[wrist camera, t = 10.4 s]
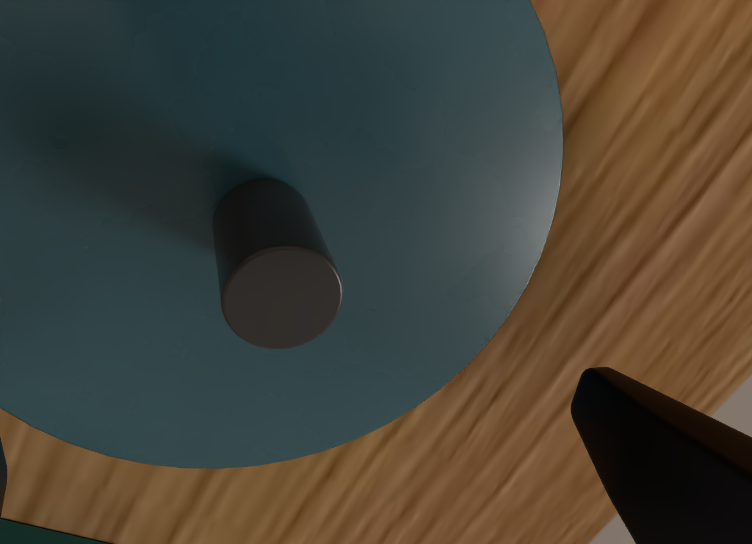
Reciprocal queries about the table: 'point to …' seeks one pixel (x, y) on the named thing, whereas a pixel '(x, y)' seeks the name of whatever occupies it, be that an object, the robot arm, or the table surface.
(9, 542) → the bracket
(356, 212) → the lid
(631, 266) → the table surface
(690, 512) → the robot arm
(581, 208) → the table surface
